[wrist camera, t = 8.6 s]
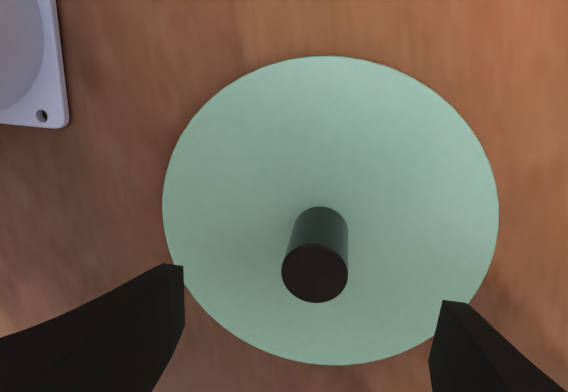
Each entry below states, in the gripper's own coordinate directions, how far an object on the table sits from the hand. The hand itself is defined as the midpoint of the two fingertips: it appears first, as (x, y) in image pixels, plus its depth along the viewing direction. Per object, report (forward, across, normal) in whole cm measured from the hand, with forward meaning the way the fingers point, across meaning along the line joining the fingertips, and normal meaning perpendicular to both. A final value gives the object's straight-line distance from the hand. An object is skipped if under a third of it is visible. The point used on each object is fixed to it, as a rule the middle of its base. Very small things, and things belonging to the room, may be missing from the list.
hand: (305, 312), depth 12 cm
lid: (+6, 0, 0) cm, 6 cm away
